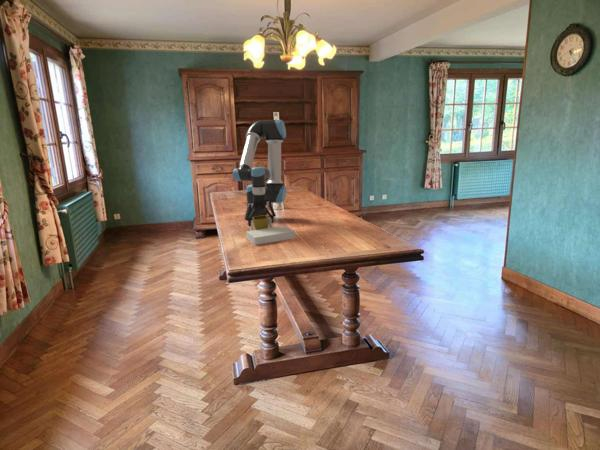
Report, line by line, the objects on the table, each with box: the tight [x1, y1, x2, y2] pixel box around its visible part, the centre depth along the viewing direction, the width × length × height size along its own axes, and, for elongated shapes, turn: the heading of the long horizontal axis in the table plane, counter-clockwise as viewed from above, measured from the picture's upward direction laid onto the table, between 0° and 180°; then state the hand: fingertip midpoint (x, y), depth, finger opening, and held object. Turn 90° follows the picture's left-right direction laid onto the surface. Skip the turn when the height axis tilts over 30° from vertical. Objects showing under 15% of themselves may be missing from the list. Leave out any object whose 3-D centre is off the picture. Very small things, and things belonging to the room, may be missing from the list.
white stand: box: [245, 225, 296, 246], centre depth 217 cm, size 14×24×4 cm, turn 117°
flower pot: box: [252, 214, 269, 230], centre depth 230 cm, size 9×9×9 cm
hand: (261, 229), depth 230 cm, fingers open, 11 cm apart
